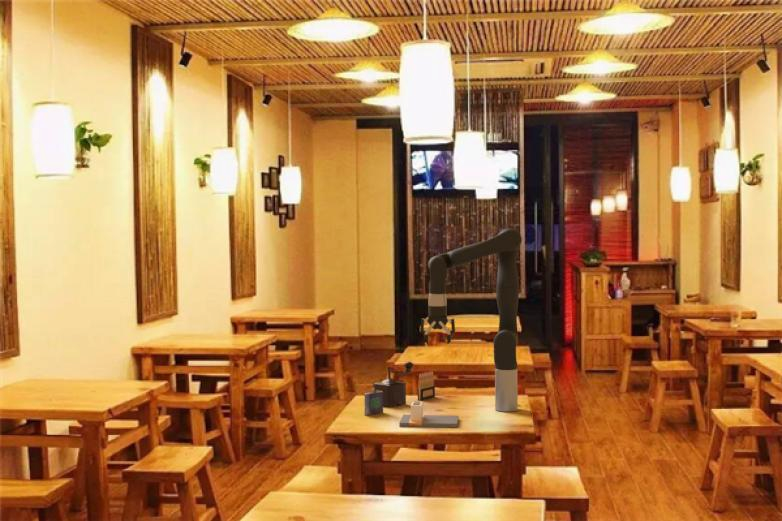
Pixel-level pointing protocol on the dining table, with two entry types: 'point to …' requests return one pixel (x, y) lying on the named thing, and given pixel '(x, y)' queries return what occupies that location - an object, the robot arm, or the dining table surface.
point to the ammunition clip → (426, 386)
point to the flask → (373, 402)
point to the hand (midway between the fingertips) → (437, 343)
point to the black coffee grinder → (393, 388)
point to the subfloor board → (430, 421)
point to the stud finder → (416, 411)
